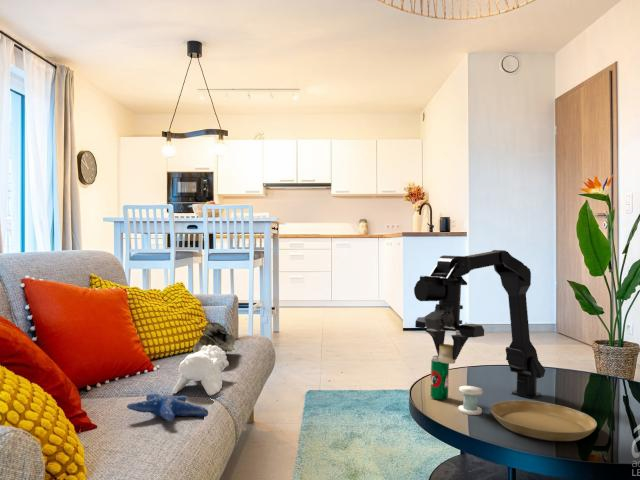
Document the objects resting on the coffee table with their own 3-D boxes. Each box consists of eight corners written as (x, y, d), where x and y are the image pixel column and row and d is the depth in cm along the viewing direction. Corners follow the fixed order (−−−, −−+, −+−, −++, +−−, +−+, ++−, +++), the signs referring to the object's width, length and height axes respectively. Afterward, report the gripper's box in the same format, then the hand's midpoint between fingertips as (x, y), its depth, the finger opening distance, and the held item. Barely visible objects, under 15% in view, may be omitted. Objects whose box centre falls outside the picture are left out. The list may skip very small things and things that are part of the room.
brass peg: (444, 359, 139) (445, 343, 139) (458, 362, 136) (459, 346, 136) (435, 361, 136) (436, 344, 137) (449, 364, 133) (449, 347, 133)
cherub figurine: (234, 346, 159) (216, 353, 139) (231, 386, 158) (212, 398, 138) (194, 343, 160) (171, 349, 141) (191, 382, 159) (167, 394, 139)
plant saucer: (492, 406, 140) (492, 394, 140) (589, 419, 131) (589, 407, 131) (488, 436, 117) (488, 422, 117) (604, 454, 108) (604, 439, 108)
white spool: (466, 406, 138) (467, 384, 138) (486, 412, 134) (486, 389, 134) (454, 410, 134) (454, 388, 134) (474, 416, 130) (474, 393, 130)
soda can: (448, 401, 142) (449, 359, 142) (430, 400, 143) (431, 358, 143) (447, 396, 147) (448, 355, 147) (430, 394, 148) (431, 354, 148)
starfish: (198, 431, 115) (199, 409, 115) (118, 428, 115) (119, 407, 115) (216, 405, 133) (217, 386, 133) (147, 402, 134) (148, 384, 134)
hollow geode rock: (220, 362, 200) (196, 334, 200) (244, 341, 200) (219, 313, 200) (201, 379, 172) (173, 346, 172) (229, 354, 172) (200, 322, 172)
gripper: (404, 298, 138) (401, 354, 138) (463, 306, 124) (460, 368, 124) (428, 297, 146) (425, 350, 145) (486, 304, 132) (484, 363, 131)
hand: (447, 358), depth 136 cm, fingers closed on brass peg, 4 cm apart
